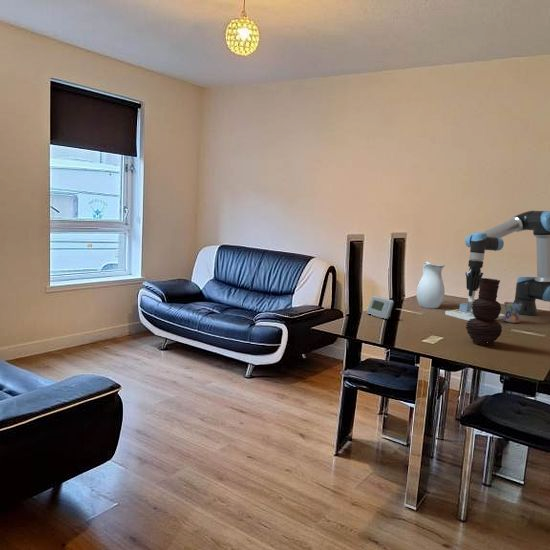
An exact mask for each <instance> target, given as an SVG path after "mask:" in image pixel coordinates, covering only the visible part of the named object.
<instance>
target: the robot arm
mask: <svg viewBox="0 0 550 550" xmlns="http://www.w3.org/2000/svg"><path fill="white" fill-rule="evenodd" d="M522 231H532V234H533V236H534V237H535V239H536V240H535V241H536V270H537V271H536V273H537V274H536V275H537V276H519V277H518V278H517V280H516V286H515V295H514V300H513V303H519V304H522V307H521V308H520V310H519V314H518V315H525V316H537V314H538V308H537V305H536V303H537V302H536V300H539V301H543V302H547V303H548V302H549V303H550V210H528V211H524V212H522V213H518V214H517V215H514V216H512V217H510V219H509V220H507V221H505V222H502V223H500V224H498V225H495V226H493V227H491V228H489V229H486V230H484V231H482V232H476V231H475V232H473V233H472V234H469V235H467V236H466V237H465V239H464V244H465V246H466V247H468V248H470V249H469V250H470V251H469V257H468V259H469V260H468V265H467V266H468V267H469V269H468V272H465V276H466V277H465V279H466V289H467V291H468V297H467V303H468V302H470V303H473V302H474V300H475V296H476V292H478V290H479V285H480V284H479V282H480V281H479V278H483V275H484V272H482V268H483V265H484V259H485V252H486V251H494V252H496V251H498V252H499V251H501V250H502V249H503V248H504V243H505V241H504V239H502V238H503V237H505V236H509V235H510V234H513V233H515V232H517V233H519V232H522Z"/></svg>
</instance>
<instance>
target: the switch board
mask: <svg viewBox="0 0 550 550" xmlns="http://www.w3.org/2000/svg"><path fill="white" fill-rule="evenodd" d="M472 311H473V310H472V307H471V311H469V312H463V311H459V308H458V309H457V308H456V309H454V310H445V312H444V315H446V316H450V317H453V318H457V319H461V320H465V321H467V322H468V321H469V320H470V319H473V318H476V317H474V315H473V312H472ZM504 316H505V313H504V314H503V313H500V315H499V317H498V318H497V319H495V321H497V320H503V318H504Z"/></svg>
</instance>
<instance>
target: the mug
mask: <svg viewBox="0 0 550 550" xmlns="http://www.w3.org/2000/svg"><path fill="white" fill-rule="evenodd" d="M513 302H514V301H513ZM513 302H512V301H511V302H510V301H505V302H504V304H503V305H504V307H505V313H504V315H505V316H504V318H503V319H502V320H503V322H506V323H511V324H518V323H520V319H519V315H520V314H519V310H520V308H521V307H522V304H519V303H513Z"/></svg>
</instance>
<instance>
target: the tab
mask: <svg viewBox="0 0 550 550" xmlns="http://www.w3.org/2000/svg"><path fill="white" fill-rule="evenodd" d="M471 308H472V304H470V303H468V302H467V303H466V302H462V303H460V304H459V308H458V309H459V311H463V312H469V311H471Z"/></svg>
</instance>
